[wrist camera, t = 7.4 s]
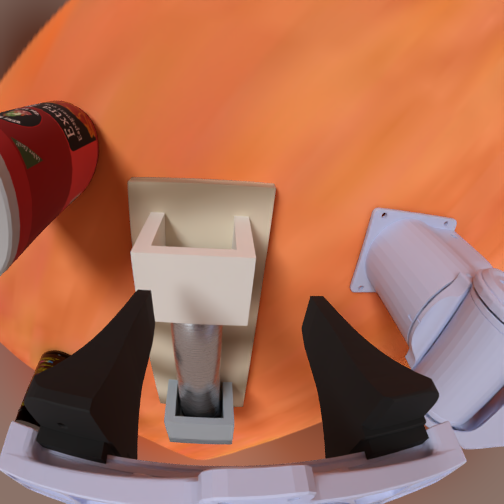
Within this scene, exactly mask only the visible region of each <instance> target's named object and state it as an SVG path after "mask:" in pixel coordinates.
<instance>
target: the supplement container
mask: <svg viewBox="0 0 504 504" xmlns="http://www.w3.org/2000/svg"><path fill="white" fill-rule="evenodd" d="M68 357H70V355H68V354H66V353H63V352H60V351H48V352H45V353H44V354H43V355H42V356H41V358H40V361H39V363H38V365H37V367H36V370H35V372H34V374H33V377H34V375H36V374H38V373H40V372H43V371H45V370H47V369H49V368H51V367H53V366H55V365H56V364H58V363H60V362H62V361H63V360H65V359H66V358H68ZM33 377H32V379H33ZM32 379H31V381H32ZM31 381H30V383H31ZM29 386H30V384H29ZM29 386H28V389H29ZM28 389H27V391H28ZM27 391H26V394H27ZM26 394H25V396H26ZM25 396H24V399H25ZM24 399H23V401H22V404H21V407H20V409H19V410H18V414H17V417H16V420H15V422H17V423H20V424H23V425H26V426H29V427H31V428H33V429H35V430H37V431H38V432H39V429H40V425H39V423H38V422H37V421H36V420H35V419H34V418H33V416H32V415H31V414H30V413H29V412H28V410H27V409H26V407H25V405H24Z"/></svg>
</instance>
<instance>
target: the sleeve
mask: <svg viewBox="0 0 504 504" xmlns="http://www.w3.org/2000/svg"><path fill="white" fill-rule="evenodd" d="M130 253H131V261H132V269H133V277H134V284H135V291H137V290H138V289H139V290H151V294H152V302H153V310H154V317H155V322H170V323H187V324H207V325H237V326H247V325H248V317H249V310H250V302H251V294H252V286H253V279H254V271H255V263H256V255H255V249H254V243H253V237H252V232H251V226H250V220H249V217H248V216H234V226H233V238H232V249H211V248H190V247H168V246H166V236H165V213H162V212H151V213H150V215H149V217H148V219H147V220H146V222H145V224H144V226H143V228H142V230H141V232H140V234H139V236H138V238H137V240H136V242H135V244H134V246H133V248H132V250H131V252H130Z"/></svg>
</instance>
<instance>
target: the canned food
mask: <svg viewBox="0 0 504 504" xmlns="http://www.w3.org/2000/svg"><path fill="white" fill-rule="evenodd" d="M98 153H99V146H98V138H97V133H96V130H95V128H94V125H93V123H92V121H91V120H90V118H89V117H88V115H87V114H86V113H84V112H83V111H82V110H81V109H80V108H78V107H76V106H74V105H73V104H71V103H68V102H64V101H50V102H45V103H39V104H35V105H30V106H25V107H21V108H17V109H13V110H9V111H5V112H1V113H0V276H1V275H2V273H4V272H5V271H6V270H7V269H8V268H9V267H10V266H11V265H12V263H13V262H14V261H15V260H16V259H17V258H18V257H19V256H20V255H21V254H22V253H23V251H24V250H25V249H26V248H27V247H28V246H29V245H30V244H31V243H32V242H33V241H34V239H35V238H36V237H37V236H38V235H39V234H40V233H41V232H42V231H43V230H44V229H45V228H46V227H47V226H48V225H49V224H50V223H51V222H52V221H53V220H54V219H55V218H56V217H57V216H58V215H59V214H60V213H61V212H62V211H63V210H64V209H65V208H66V207H67V206H68V205H69V204H70V203H71V202H73V201H74V200H75V199H76V198H77V197H78V196H79V195H80V194H81V193H82V192H83V191H84V190H85V188H86V187H87V186H88V184H89V183H90V180H91V178H92V176H93V174H94V171H95V168H96V165H97V161H98Z"/></svg>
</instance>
